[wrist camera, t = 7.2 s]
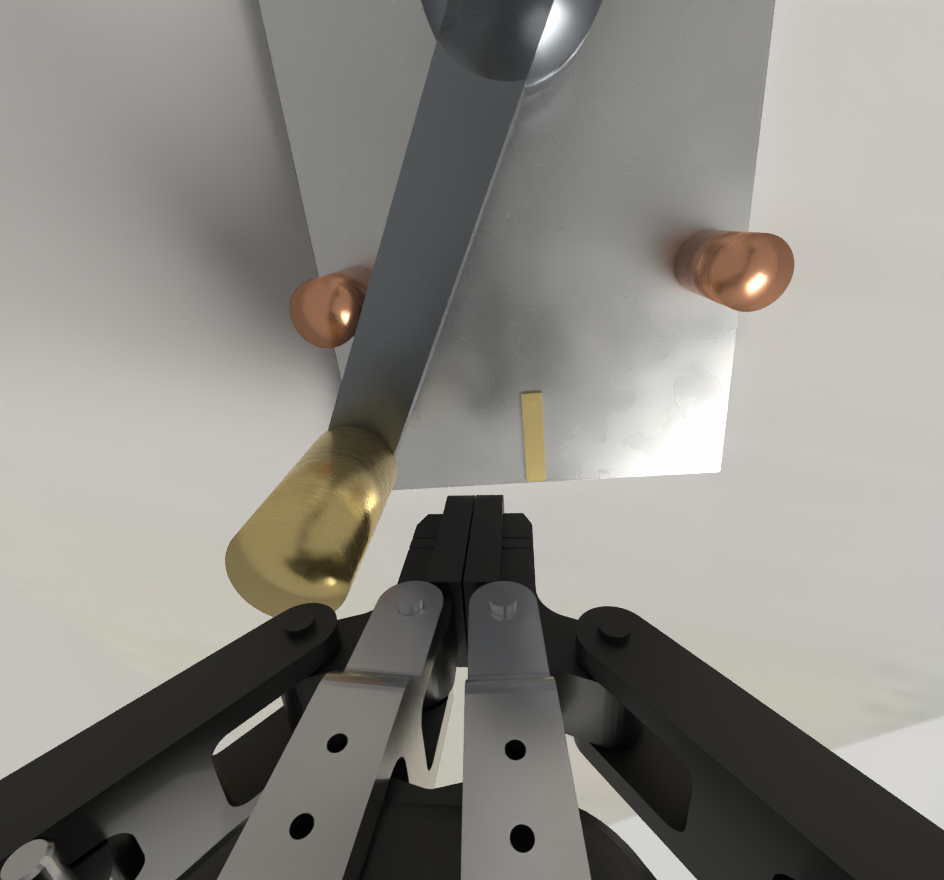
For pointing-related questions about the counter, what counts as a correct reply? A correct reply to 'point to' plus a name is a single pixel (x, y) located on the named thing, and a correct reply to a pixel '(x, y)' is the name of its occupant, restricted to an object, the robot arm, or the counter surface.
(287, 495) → the crank lever
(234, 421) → the counter surface
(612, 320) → the crank base
